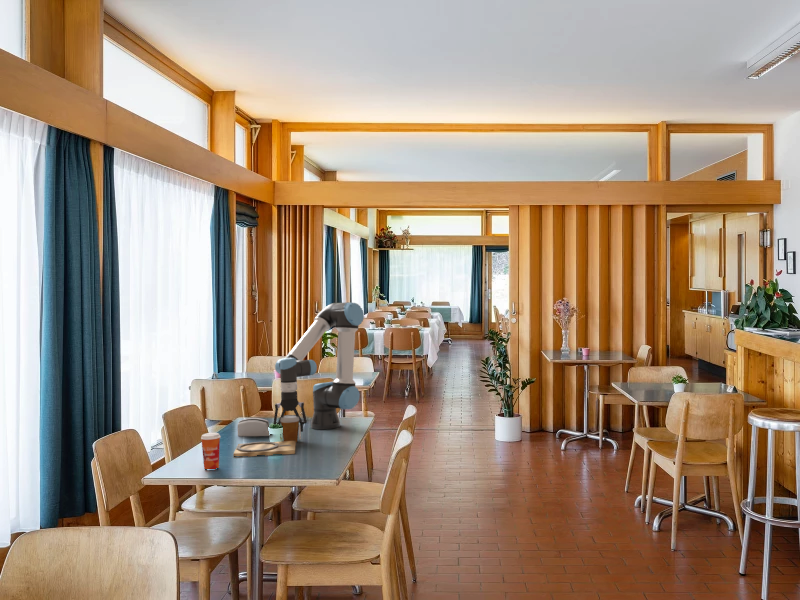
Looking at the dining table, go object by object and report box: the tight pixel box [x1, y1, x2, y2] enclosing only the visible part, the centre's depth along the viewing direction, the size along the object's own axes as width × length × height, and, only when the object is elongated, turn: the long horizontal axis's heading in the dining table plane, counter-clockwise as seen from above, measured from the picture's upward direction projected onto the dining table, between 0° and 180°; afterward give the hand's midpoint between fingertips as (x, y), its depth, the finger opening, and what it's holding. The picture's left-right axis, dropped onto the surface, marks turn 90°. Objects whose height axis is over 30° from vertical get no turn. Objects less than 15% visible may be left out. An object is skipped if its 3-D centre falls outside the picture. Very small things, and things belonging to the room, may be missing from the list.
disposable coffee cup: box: [279, 414, 300, 443], centre depth 327 cm, size 10×10×12 cm
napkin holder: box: [237, 417, 270, 437], centre depth 345 cm, size 17×5×10 cm, turn 84°
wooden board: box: [233, 440, 297, 457], centre depth 310 cm, size 26×20×2 cm
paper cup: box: [200, 432, 221, 469], centre depth 279 cm, size 8×8×14 cm
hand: (290, 439), depth 327 cm, fingers closed on disposable coffee cup, 8 cm apart
